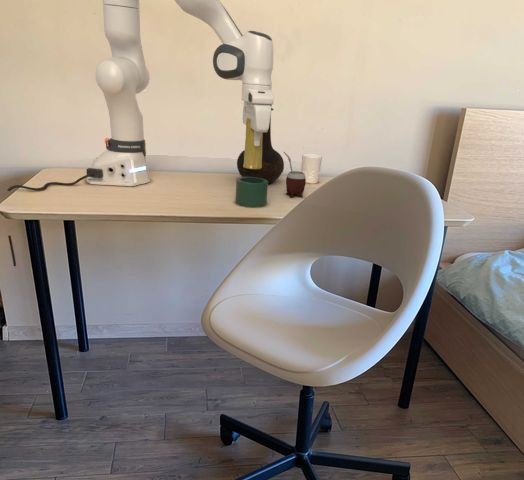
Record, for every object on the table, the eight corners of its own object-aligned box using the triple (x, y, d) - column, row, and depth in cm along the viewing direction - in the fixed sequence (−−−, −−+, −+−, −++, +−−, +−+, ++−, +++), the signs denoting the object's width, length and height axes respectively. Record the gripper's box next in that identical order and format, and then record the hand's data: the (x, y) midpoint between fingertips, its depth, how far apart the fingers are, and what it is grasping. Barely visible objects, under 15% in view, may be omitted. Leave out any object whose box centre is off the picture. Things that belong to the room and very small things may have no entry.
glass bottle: (227, 179, 199) (229, 99, 185) (261, 175, 210) (266, 99, 195) (257, 189, 188) (262, 105, 174) (291, 184, 198) (299, 105, 184)
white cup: (322, 183, 203) (325, 157, 198) (304, 184, 200) (307, 157, 195) (313, 179, 209) (316, 153, 204) (296, 179, 206) (298, 153, 201)
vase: (245, 169, 160) (247, 120, 153) (240, 165, 165) (243, 117, 158) (264, 169, 162) (267, 120, 155) (259, 165, 167) (261, 118, 160)
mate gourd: (307, 195, 184) (311, 151, 176) (298, 199, 178) (303, 154, 170) (288, 192, 187) (292, 148, 179) (279, 196, 180) (283, 151, 173)
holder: (239, 207, 164) (240, 183, 160) (232, 199, 172) (233, 176, 169) (269, 207, 167) (271, 184, 163) (261, 199, 175) (263, 176, 171)
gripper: (238, 91, 161) (237, 138, 168) (254, 97, 144) (251, 149, 151) (258, 92, 162) (255, 138, 169) (275, 98, 146) (271, 149, 153)
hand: (253, 143), depth 160 cm, fingers closed on vase, 5 cm apart
